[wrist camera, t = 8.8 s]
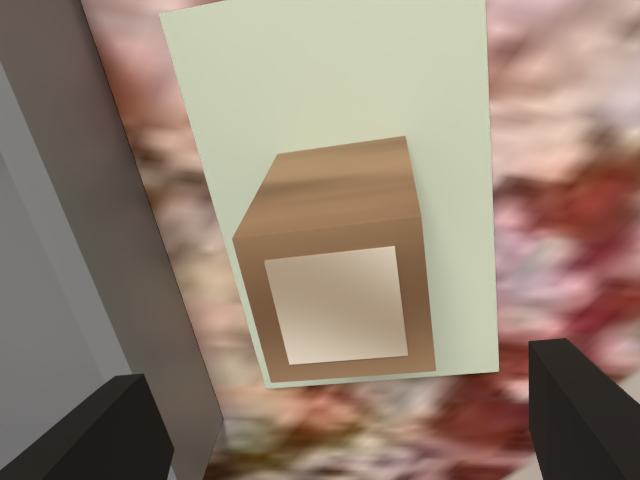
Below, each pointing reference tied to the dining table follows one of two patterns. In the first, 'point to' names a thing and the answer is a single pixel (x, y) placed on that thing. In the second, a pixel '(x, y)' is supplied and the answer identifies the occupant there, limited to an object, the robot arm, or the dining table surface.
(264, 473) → the dining table surface
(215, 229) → the dining table surface
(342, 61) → the board
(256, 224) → the walnut block
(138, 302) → the bin
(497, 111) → the dining table surface
